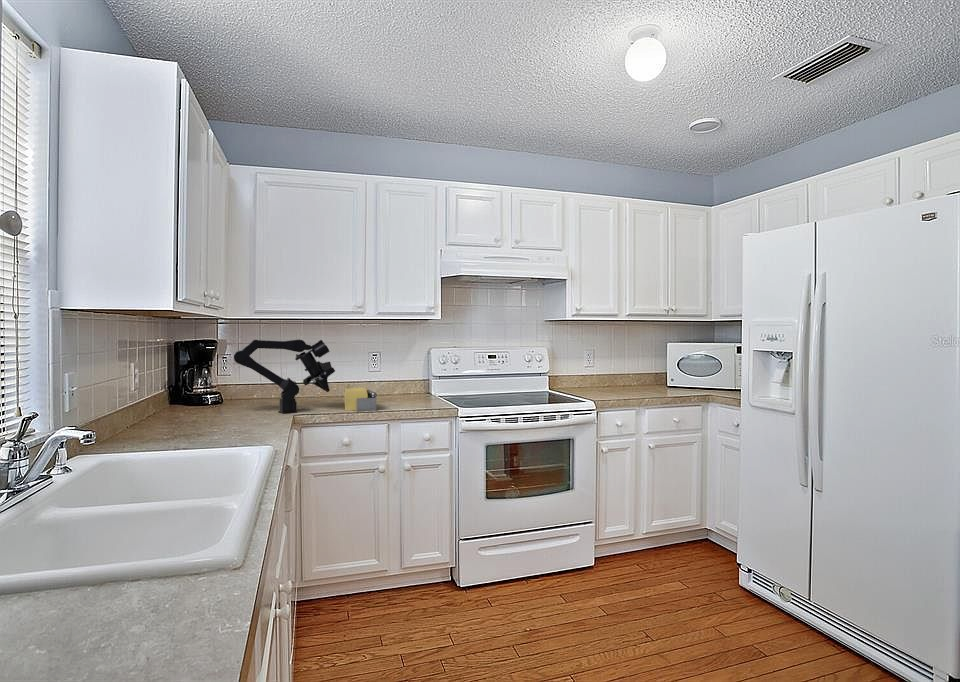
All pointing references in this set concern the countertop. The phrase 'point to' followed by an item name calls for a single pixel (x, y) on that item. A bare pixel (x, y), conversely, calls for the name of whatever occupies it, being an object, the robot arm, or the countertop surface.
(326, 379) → the robot arm
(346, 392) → the cheese
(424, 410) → the countertop surface
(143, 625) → the countertop surface
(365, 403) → the leaf bracket
